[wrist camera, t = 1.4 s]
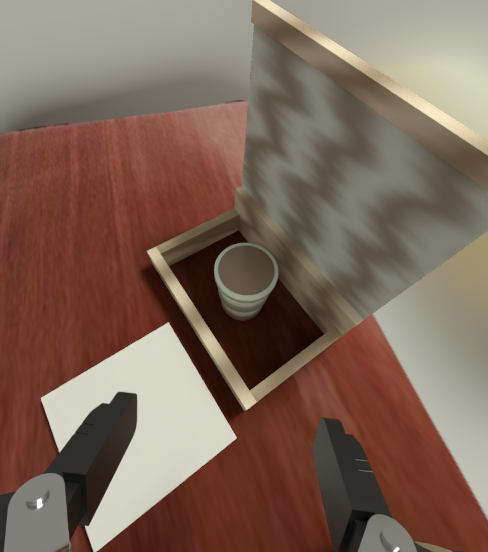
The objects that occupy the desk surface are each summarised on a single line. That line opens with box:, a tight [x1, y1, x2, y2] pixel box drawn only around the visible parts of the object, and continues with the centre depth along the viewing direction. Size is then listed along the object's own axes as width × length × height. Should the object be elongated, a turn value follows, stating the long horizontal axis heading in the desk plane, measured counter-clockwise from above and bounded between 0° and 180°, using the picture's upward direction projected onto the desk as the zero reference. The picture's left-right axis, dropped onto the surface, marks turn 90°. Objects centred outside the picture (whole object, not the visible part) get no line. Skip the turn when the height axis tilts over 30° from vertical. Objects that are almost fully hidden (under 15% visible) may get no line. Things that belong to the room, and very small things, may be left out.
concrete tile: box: [41, 322, 237, 552], centre depth 27 cm, size 14×14×1 cm
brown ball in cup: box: [214, 243, 278, 321], centre depth 31 cm, size 6×6×8 cm
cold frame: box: [147, 0, 488, 411], centre depth 24 cm, size 21×14×24 cm
